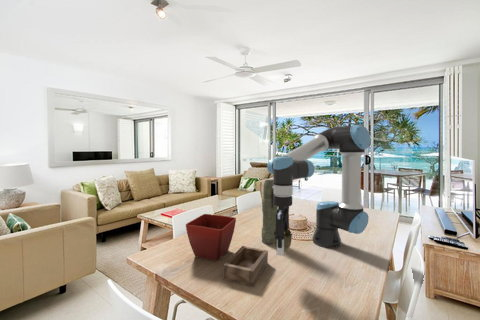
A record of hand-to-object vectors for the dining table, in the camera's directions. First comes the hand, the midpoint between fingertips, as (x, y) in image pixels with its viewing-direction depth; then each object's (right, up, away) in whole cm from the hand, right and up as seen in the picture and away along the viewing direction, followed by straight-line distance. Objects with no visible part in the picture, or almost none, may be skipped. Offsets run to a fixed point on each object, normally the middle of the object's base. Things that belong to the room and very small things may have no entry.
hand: (282, 250), depth 96 cm
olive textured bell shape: (0, -1, 0) cm, 1 cm away
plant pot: (-31, -10, +22) cm, 40 cm away
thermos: (-1, -10, +38) cm, 40 cm away
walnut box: (-14, -11, +6) cm, 19 cm away
